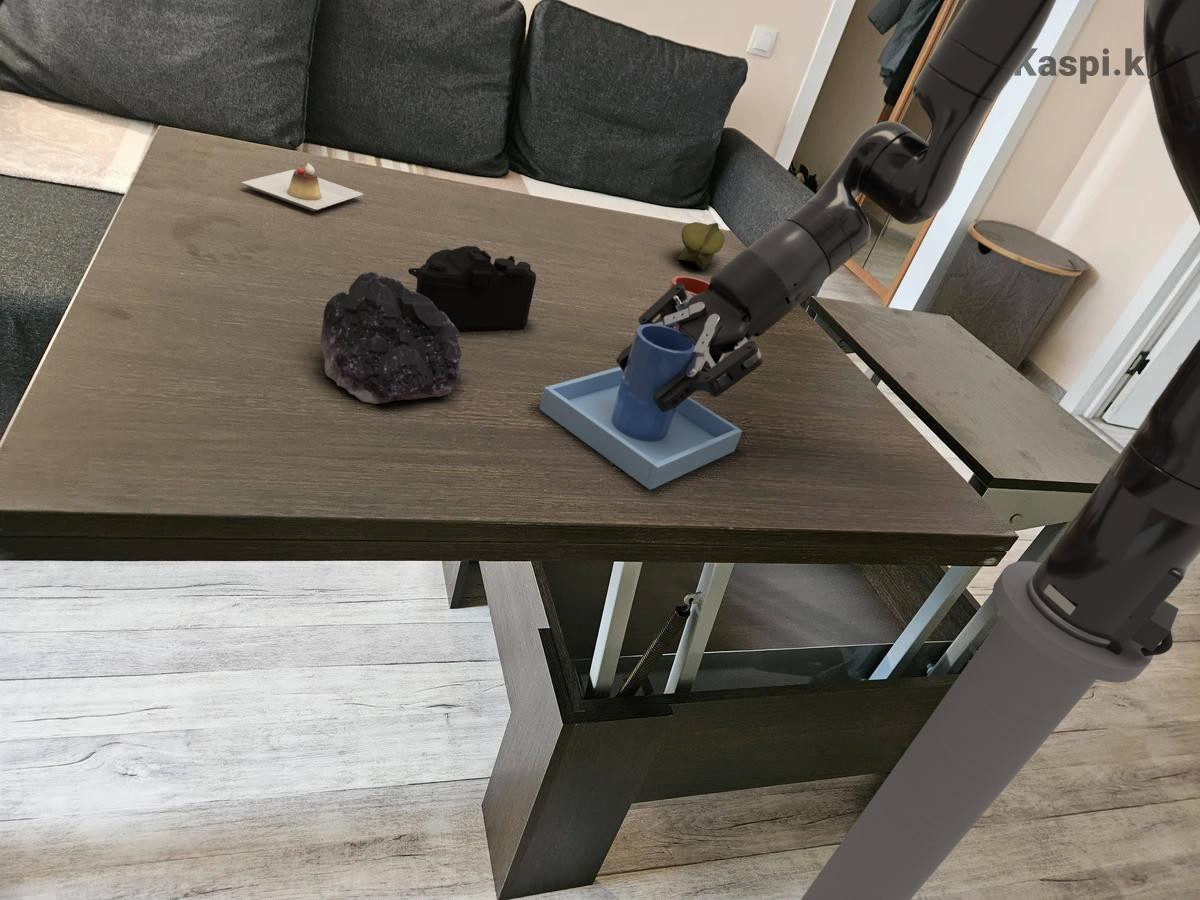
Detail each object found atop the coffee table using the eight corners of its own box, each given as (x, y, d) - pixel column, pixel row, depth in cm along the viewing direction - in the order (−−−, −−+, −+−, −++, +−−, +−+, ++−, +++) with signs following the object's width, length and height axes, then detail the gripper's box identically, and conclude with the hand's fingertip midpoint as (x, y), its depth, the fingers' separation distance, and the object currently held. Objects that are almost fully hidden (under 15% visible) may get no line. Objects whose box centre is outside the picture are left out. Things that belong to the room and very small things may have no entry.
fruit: (652, 246, 135) (663, 208, 132) (709, 251, 141) (721, 215, 138) (685, 273, 127) (697, 234, 124) (744, 278, 133) (757, 240, 129)
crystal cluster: (463, 422, 76) (488, 326, 72) (314, 401, 71) (332, 296, 66) (446, 364, 87) (467, 278, 82) (316, 342, 81) (331, 249, 77)
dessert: (240, 190, 110) (240, 155, 108) (293, 176, 120) (295, 144, 118) (316, 217, 109) (318, 182, 106) (363, 201, 119) (366, 169, 116)
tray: (734, 451, 83) (742, 430, 81) (649, 490, 73) (657, 467, 71) (629, 382, 90) (635, 362, 89) (539, 409, 80) (544, 387, 79)
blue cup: (679, 432, 82) (709, 347, 77) (642, 447, 78) (671, 357, 72) (636, 404, 85) (663, 319, 79) (599, 417, 80) (624, 328, 75)
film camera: (501, 296, 102) (514, 228, 97) (535, 331, 95) (550, 260, 91) (385, 296, 93) (393, 222, 89) (414, 334, 87) (424, 257, 82)
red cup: (704, 368, 98) (731, 294, 93) (675, 377, 94) (701, 300, 89) (668, 346, 101) (692, 273, 96) (639, 354, 97) (661, 278, 92)
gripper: (715, 223, 80) (588, 328, 80) (807, 284, 70) (662, 403, 70) (738, 274, 85) (619, 372, 85) (826, 337, 76) (691, 448, 76)
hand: (639, 385), depth 78 cm, fingers open, 6 cm apart
